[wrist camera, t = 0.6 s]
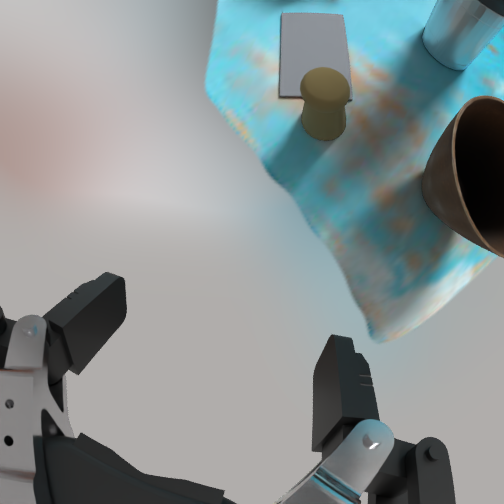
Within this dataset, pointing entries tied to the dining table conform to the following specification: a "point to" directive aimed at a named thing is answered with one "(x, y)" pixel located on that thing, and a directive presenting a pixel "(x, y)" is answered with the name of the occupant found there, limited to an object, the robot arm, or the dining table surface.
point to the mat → (311, 48)
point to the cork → (324, 103)
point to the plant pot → (470, 174)
